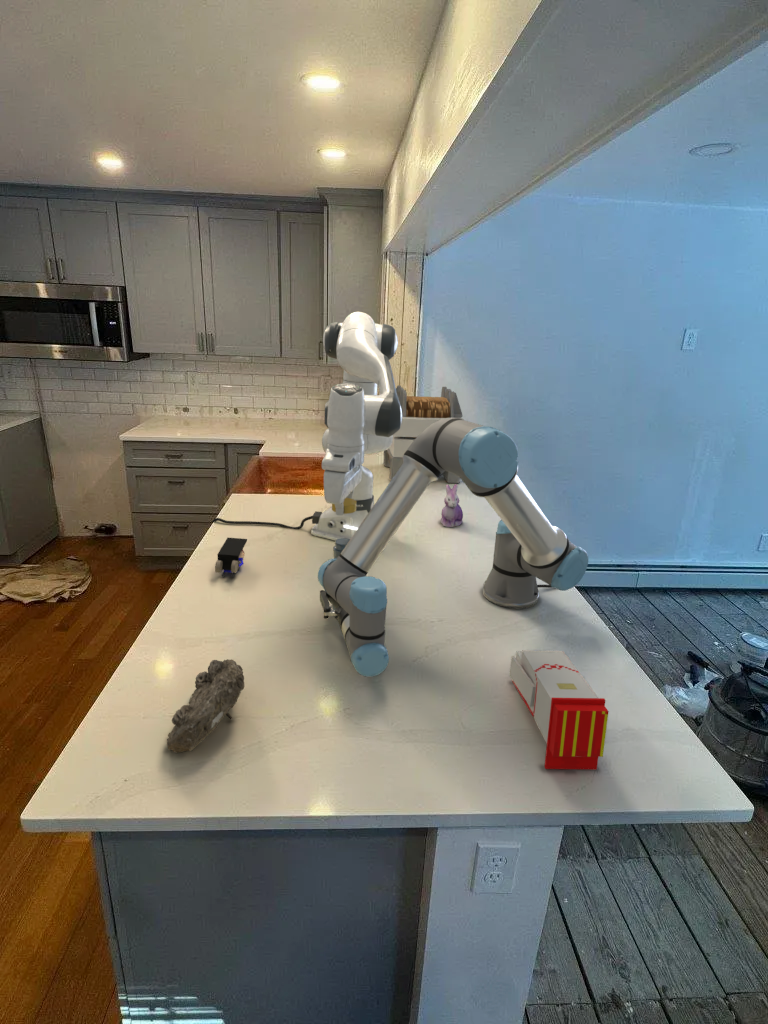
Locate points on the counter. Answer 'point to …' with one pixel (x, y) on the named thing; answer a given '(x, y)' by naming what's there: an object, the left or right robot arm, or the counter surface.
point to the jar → (339, 550)
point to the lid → (347, 506)
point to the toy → (561, 708)
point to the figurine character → (230, 556)
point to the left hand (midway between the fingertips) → (344, 509)
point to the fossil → (206, 705)
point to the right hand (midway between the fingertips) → (339, 579)
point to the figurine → (451, 508)
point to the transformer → (420, 424)
